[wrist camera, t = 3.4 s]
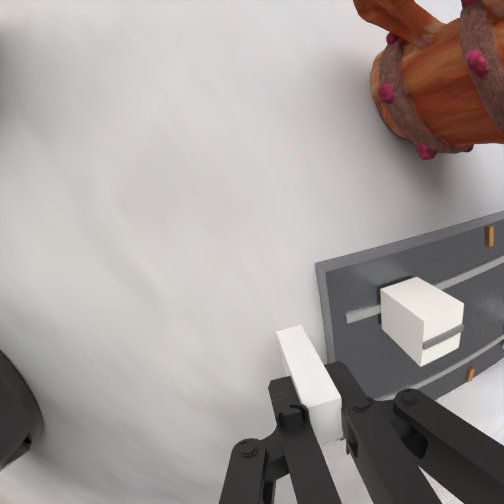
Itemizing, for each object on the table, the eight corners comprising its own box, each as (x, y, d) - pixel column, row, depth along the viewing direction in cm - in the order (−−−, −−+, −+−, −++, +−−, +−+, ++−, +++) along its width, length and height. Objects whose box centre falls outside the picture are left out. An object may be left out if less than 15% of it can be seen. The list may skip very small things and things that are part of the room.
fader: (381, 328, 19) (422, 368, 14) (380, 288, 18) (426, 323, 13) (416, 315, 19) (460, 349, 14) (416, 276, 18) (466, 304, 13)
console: (333, 425, 24) (341, 442, 21) (314, 263, 20) (326, 273, 17) (517, 332, 25) (529, 339, 23) (529, 202, 21) (545, 205, 19)
